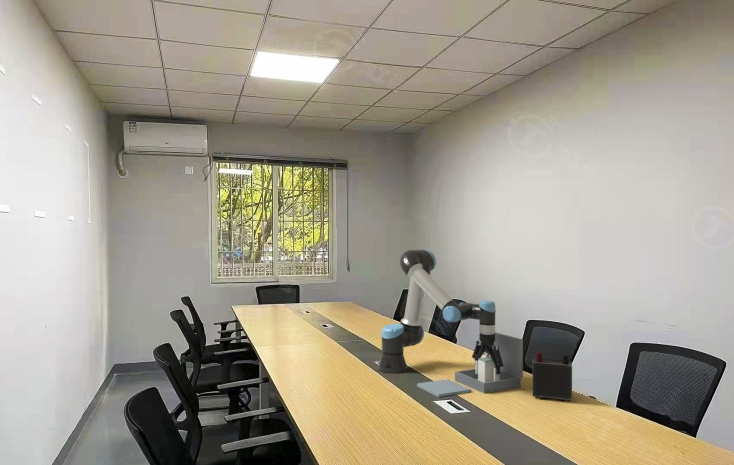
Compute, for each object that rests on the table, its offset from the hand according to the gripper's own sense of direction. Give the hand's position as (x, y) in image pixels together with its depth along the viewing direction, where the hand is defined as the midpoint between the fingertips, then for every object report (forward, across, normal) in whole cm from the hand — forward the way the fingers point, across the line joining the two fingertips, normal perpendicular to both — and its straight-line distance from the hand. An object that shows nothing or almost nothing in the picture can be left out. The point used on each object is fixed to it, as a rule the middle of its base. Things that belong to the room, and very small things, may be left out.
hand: (487, 377), depth 239 cm
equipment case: (+3, 0, 0) cm, 3 cm away
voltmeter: (+4, -26, -15) cm, 30 cm away
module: (+3, 0, 0) cm, 3 cm away
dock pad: (+3, +2, +24) cm, 24 cm away
